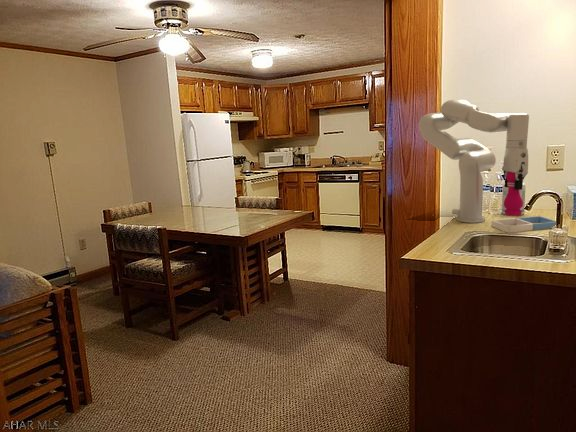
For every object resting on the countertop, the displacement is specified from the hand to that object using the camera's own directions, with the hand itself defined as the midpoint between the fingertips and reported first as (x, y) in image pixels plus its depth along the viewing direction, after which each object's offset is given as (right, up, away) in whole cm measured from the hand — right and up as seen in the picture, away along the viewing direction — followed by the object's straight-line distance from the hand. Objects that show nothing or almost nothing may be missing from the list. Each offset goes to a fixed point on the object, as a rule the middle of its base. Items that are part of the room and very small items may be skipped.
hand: (513, 187), depth 175 cm
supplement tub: (+14, -11, +27) cm, 33 cm away
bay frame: (+7, -16, +4) cm, 18 cm away
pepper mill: (+1, -11, +2) cm, 11 cm away
